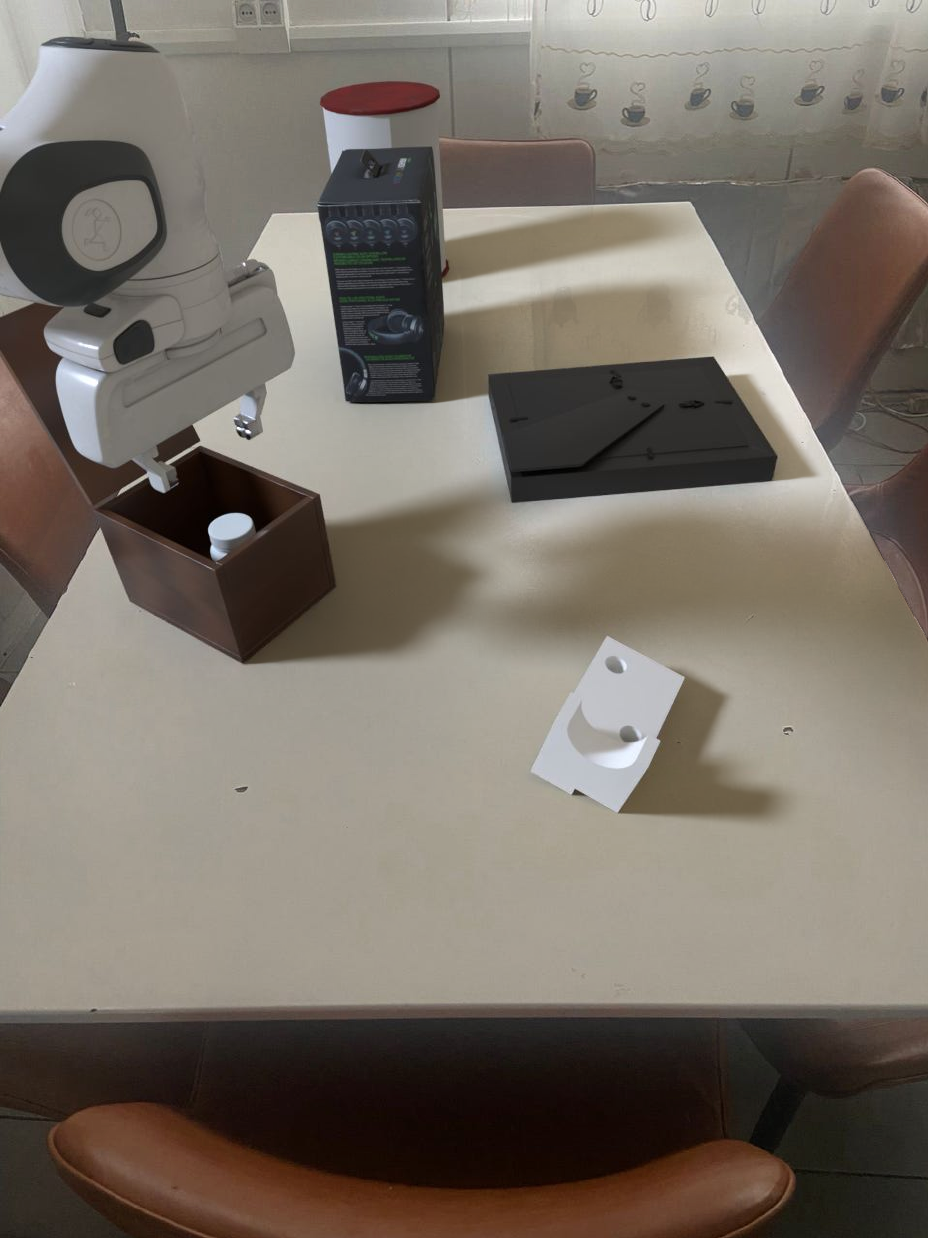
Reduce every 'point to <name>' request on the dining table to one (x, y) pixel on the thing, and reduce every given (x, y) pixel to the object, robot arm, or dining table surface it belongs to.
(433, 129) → the container
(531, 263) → the dining table surface
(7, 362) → the lid
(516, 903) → the dining table surface
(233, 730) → the dining table surface
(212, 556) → the pill bottle
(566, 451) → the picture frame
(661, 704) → the bracket
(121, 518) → the chest
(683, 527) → the dining table surface
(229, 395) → the robot arm
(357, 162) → the headset box
